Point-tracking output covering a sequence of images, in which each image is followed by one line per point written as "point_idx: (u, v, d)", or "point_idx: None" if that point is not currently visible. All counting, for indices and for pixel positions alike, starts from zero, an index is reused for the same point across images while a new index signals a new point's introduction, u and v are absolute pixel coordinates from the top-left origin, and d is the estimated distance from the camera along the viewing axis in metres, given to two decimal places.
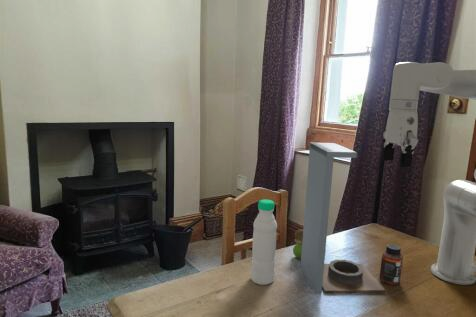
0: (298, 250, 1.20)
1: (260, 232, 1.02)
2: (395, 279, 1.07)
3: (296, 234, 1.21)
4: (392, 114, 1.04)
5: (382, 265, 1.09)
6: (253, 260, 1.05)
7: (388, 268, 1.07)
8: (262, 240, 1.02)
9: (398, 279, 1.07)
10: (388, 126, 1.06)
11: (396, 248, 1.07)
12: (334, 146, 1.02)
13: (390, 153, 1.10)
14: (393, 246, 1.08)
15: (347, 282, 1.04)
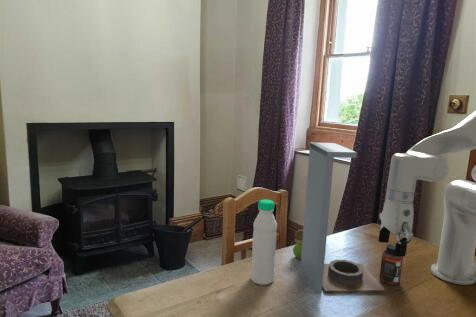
0: (298, 250, 1.20)
1: (260, 232, 1.02)
2: (395, 279, 1.07)
3: (296, 234, 1.21)
4: (389, 202, 1.06)
5: (382, 265, 1.09)
6: (253, 260, 1.05)
7: (388, 268, 1.07)
8: (262, 240, 1.02)
9: (398, 279, 1.07)
10: (384, 211, 1.08)
11: None
12: (334, 146, 1.02)
13: (386, 236, 1.12)
14: (393, 246, 1.08)
15: (347, 282, 1.04)
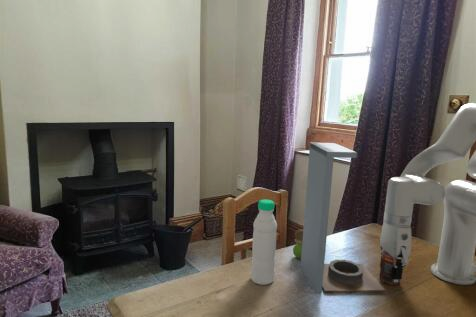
0: (298, 250, 1.20)
1: (260, 232, 1.02)
2: None
3: (296, 234, 1.21)
4: (387, 225, 1.07)
5: (382, 265, 1.09)
6: (253, 260, 1.05)
7: (388, 268, 1.07)
8: (262, 240, 1.02)
9: None
10: (383, 234, 1.10)
11: None
12: (334, 146, 1.02)
13: None
14: None
15: (347, 282, 1.04)
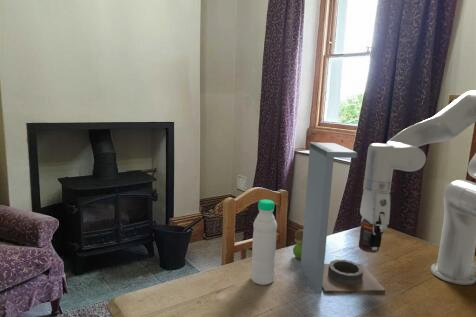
0: (298, 250, 1.20)
1: (260, 232, 1.02)
2: (374, 247, 1.05)
3: (296, 234, 1.21)
4: (366, 192, 1.06)
5: (361, 233, 1.07)
6: (253, 260, 1.05)
7: (367, 235, 1.05)
8: (262, 240, 1.02)
9: (377, 247, 1.06)
10: (363, 202, 1.08)
11: None
12: (334, 146, 1.02)
13: None
14: None
15: (347, 282, 1.04)
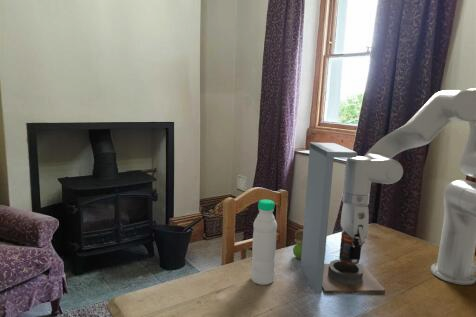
0: (298, 250, 1.20)
1: (260, 232, 1.02)
2: None
3: (296, 234, 1.21)
4: (345, 204, 1.06)
5: (341, 245, 1.07)
6: (253, 260, 1.05)
7: (347, 248, 1.05)
8: (262, 240, 1.02)
9: None
10: (342, 214, 1.08)
11: None
12: (334, 146, 1.02)
13: None
14: None
15: (347, 282, 1.04)
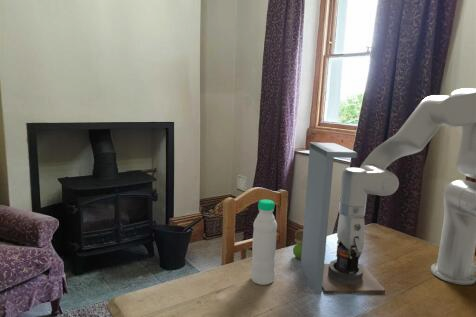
0: (298, 250, 1.20)
1: (260, 232, 1.02)
2: None
3: (296, 234, 1.21)
4: (342, 216, 1.06)
5: (337, 260, 1.08)
6: (253, 260, 1.05)
7: (343, 263, 1.06)
8: (262, 240, 1.02)
9: None
10: (339, 225, 1.09)
11: None
12: (334, 146, 1.02)
13: None
14: None
15: (347, 282, 1.04)
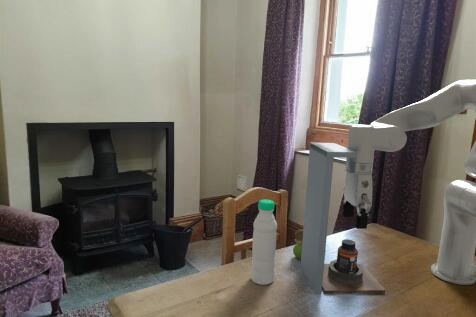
0: (298, 250, 1.20)
1: (260, 232, 1.02)
2: None
3: (296, 234, 1.21)
4: (349, 174, 1.04)
5: (337, 260, 1.08)
6: (253, 260, 1.05)
7: (343, 263, 1.06)
8: (262, 240, 1.02)
9: None
10: (346, 185, 1.07)
11: (351, 243, 1.06)
12: (334, 146, 1.02)
13: (350, 210, 1.11)
14: (348, 241, 1.08)
15: (347, 282, 1.04)
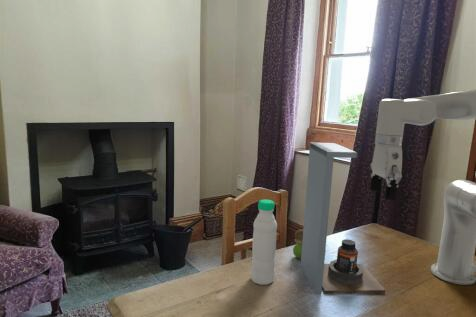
0: (298, 250, 1.20)
1: (260, 232, 1.02)
2: None
3: (296, 234, 1.21)
4: (378, 147, 1.07)
5: (337, 260, 1.08)
6: (253, 260, 1.05)
7: (343, 263, 1.06)
8: (262, 240, 1.02)
9: None
10: (374, 158, 1.10)
11: (351, 243, 1.06)
12: (334, 146, 1.02)
13: (377, 184, 1.14)
14: (348, 241, 1.08)
15: (347, 282, 1.04)
